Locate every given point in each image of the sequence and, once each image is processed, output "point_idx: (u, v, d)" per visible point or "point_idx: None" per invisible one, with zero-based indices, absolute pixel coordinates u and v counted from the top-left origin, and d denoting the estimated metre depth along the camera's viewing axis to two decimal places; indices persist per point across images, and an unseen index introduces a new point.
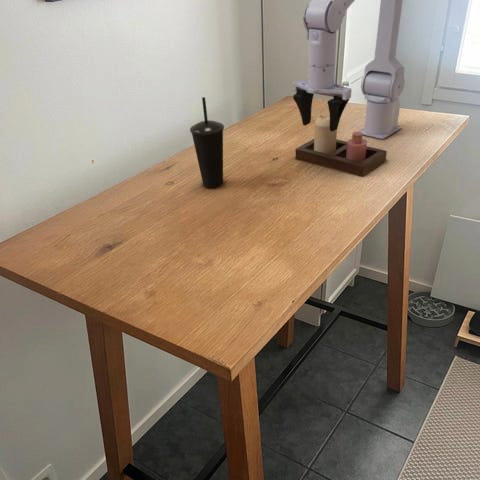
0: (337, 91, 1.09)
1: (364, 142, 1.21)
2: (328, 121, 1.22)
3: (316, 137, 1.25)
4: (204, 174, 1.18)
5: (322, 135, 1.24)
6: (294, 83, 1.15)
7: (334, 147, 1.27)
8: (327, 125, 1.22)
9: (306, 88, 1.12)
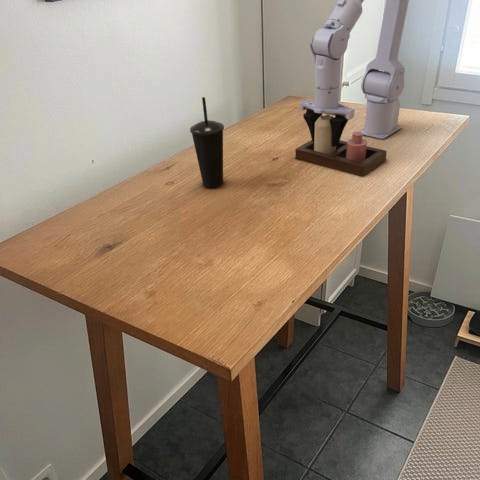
0: (341, 111, 1.18)
1: (364, 142, 1.21)
2: (328, 121, 1.22)
3: (316, 137, 1.25)
4: (204, 174, 1.18)
5: (322, 135, 1.24)
6: (301, 103, 1.25)
7: (334, 147, 1.27)
8: (327, 125, 1.22)
9: (313, 108, 1.22)
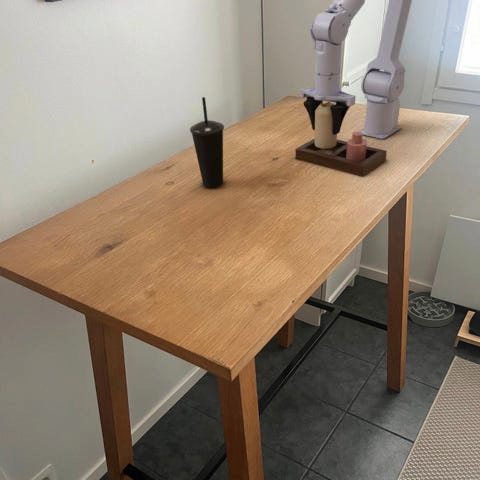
0: (342, 98, 1.16)
1: (364, 142, 1.21)
2: (329, 108, 1.20)
3: (317, 125, 1.23)
4: (204, 174, 1.18)
5: (322, 123, 1.22)
6: (301, 90, 1.23)
7: (335, 135, 1.25)
8: (328, 112, 1.20)
9: (313, 95, 1.20)
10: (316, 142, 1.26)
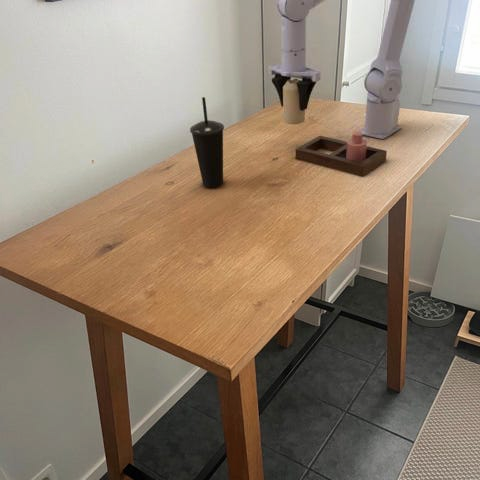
0: (307, 73, 1.20)
1: (364, 142, 1.21)
2: (295, 84, 1.24)
3: (284, 101, 1.27)
4: (204, 174, 1.18)
5: (290, 99, 1.26)
6: (270, 67, 1.27)
7: (302, 111, 1.28)
8: (295, 88, 1.24)
9: (280, 71, 1.24)
10: (284, 118, 1.30)
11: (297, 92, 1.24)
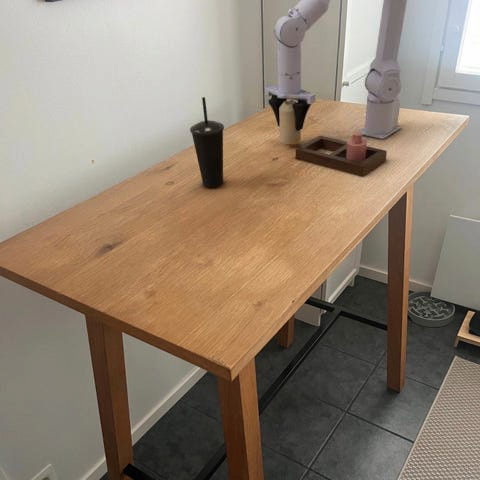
0: (303, 96, 1.24)
1: (364, 142, 1.21)
2: (291, 106, 1.28)
3: (281, 122, 1.31)
4: (204, 174, 1.18)
5: (286, 119, 1.30)
6: (267, 89, 1.31)
7: (298, 131, 1.33)
8: (290, 110, 1.28)
9: (276, 93, 1.28)
10: (281, 138, 1.34)
11: (293, 113, 1.29)
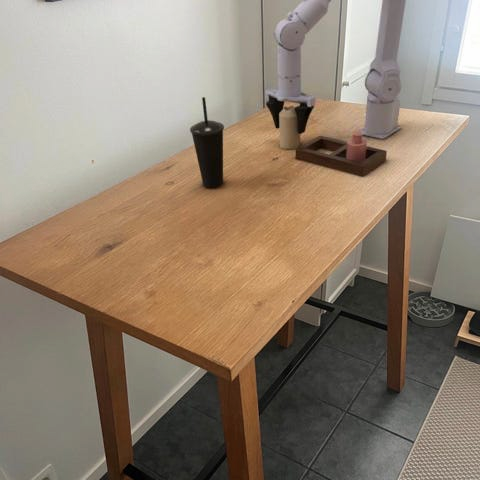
0: (303, 99, 1.25)
1: (364, 142, 1.21)
2: (291, 112, 1.29)
3: (281, 127, 1.32)
4: (204, 174, 1.18)
5: (286, 125, 1.31)
6: (267, 92, 1.32)
7: (298, 137, 1.34)
8: (290, 115, 1.29)
9: (276, 96, 1.28)
10: (281, 143, 1.35)
11: (293, 119, 1.30)
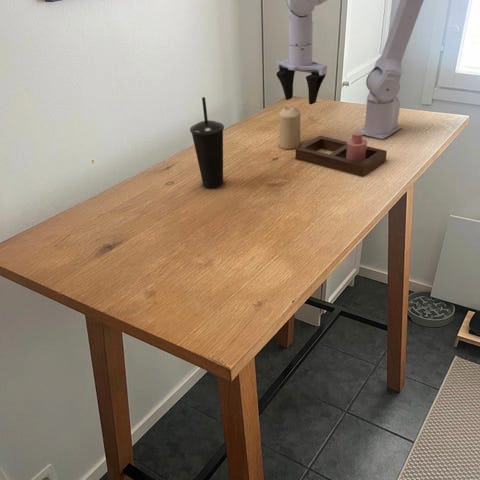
0: (314, 67, 1.23)
1: (364, 142, 1.21)
2: (291, 112, 1.29)
3: (281, 127, 1.32)
4: (204, 174, 1.18)
5: (286, 125, 1.31)
6: (277, 62, 1.30)
7: (298, 137, 1.34)
8: (290, 115, 1.29)
9: (287, 65, 1.27)
10: (281, 143, 1.35)
11: (293, 119, 1.30)
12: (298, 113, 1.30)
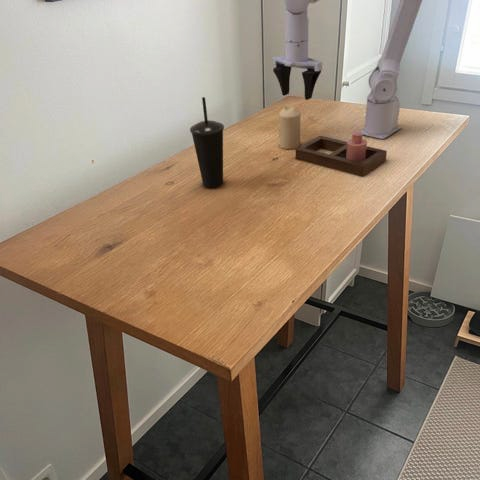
0: (310, 63, 1.26)
1: (364, 142, 1.21)
2: (291, 112, 1.29)
3: (281, 127, 1.32)
4: (204, 174, 1.18)
5: (286, 125, 1.31)
6: (274, 58, 1.33)
7: (298, 137, 1.34)
8: (290, 115, 1.29)
9: (284, 62, 1.30)
10: (281, 143, 1.35)
11: (293, 119, 1.30)
12: (298, 113, 1.30)
